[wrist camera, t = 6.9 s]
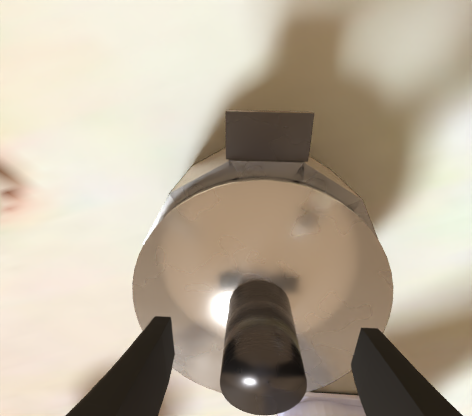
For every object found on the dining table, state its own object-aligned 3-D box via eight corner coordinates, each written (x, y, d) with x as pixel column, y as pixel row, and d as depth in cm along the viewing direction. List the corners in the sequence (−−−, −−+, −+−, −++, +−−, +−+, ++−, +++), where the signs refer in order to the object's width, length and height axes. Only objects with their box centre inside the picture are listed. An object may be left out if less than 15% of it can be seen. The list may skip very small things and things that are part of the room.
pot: (370, 109, 15) (424, 115, 10) (326, 319, 21) (347, 381, 17) (161, 104, 15) (123, 109, 11) (180, 311, 22) (161, 369, 17)
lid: (415, 199, 12) (541, 259, 7) (336, 388, 16) (377, 516, 11) (153, 151, 12) (79, 174, 7) (138, 352, 16) (85, 465, 11)
